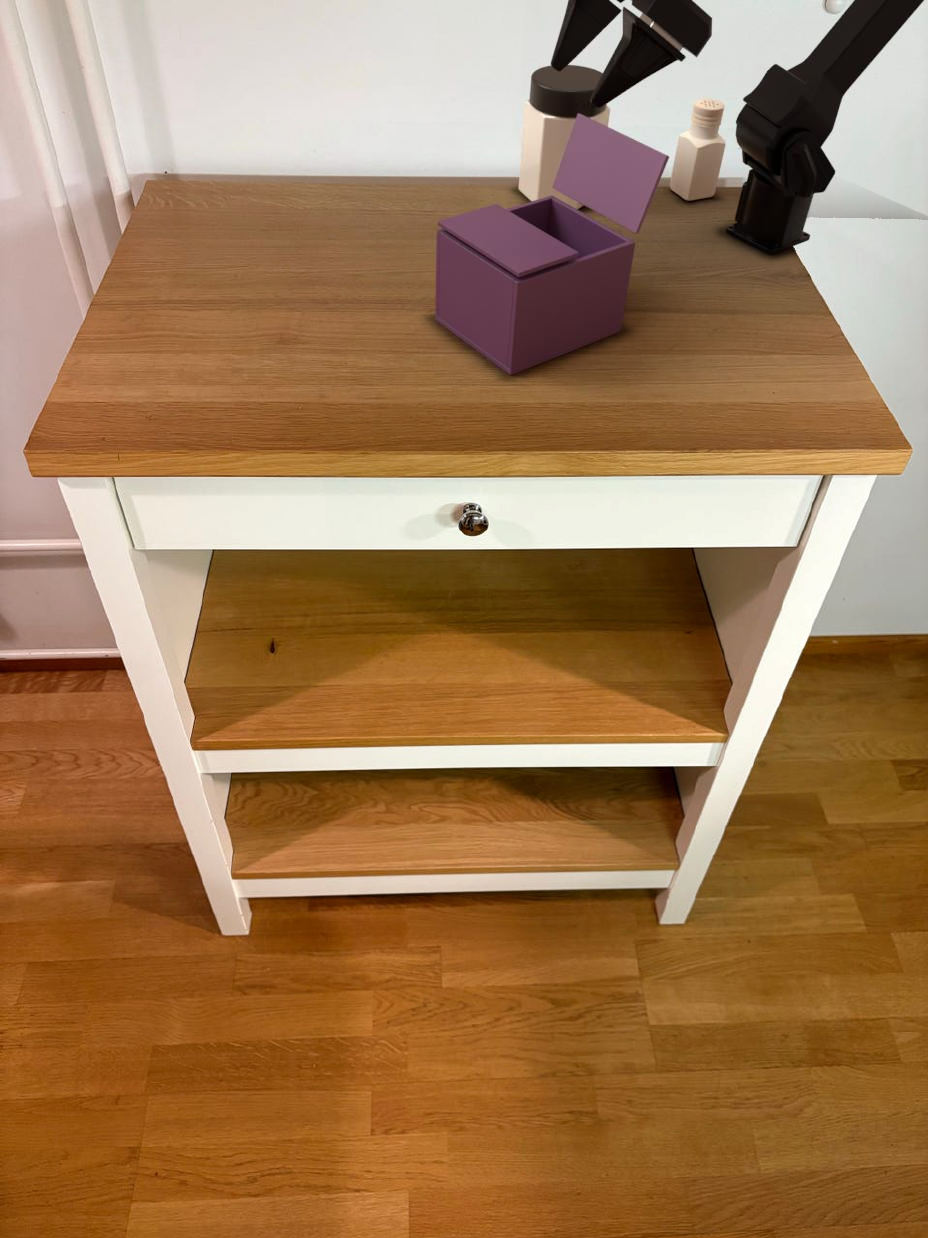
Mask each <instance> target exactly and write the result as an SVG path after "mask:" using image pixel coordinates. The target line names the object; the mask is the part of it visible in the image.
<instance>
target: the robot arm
mask: <svg viewBox="0 0 928 1238" xmlns="http://www.w3.org/2000/svg"><path fill="white" fill-rule="evenodd" d="M625 1H626V0H616V2H618V3H619V4H622V3H623V2H625ZM924 1H925V0H853V1H852V3H850V5H849V6H848V7H847V9H845V11H844V12H843V13H842V15H841V16H840V17H839V18H838V20H837V21H836V22H835V23H834V24H833V26H832V27H831V28H830V29H829V30H828V31H827V33H826V34H825V35H824V36H823V38H822V39H821V40H820V42H818V44H817V45H816V46H815V48H814V49H813V50H812V51H811V53H809V55H808V56H807V57H806V58H805V59H803V61H802V62H800V63H797V64H796V65H794V66H792V67H790V68H788V69H786V68H784V67H782V66H781V65H779V64H778V63H774V64H773V65H772V66H771V67H769V69H767V70H766V72H765V74H764V75H763V77H762V78H761V80H760V81H759V83H758V84H757V85H756V87H755V88H754V89H753V90H752V91H751V92H750V93H748V94H747V95H745V96H744V97H743V98H742V101H743V102H744V103H745V104H744V105H743V107H742V108H741V110H740V112H739V113H738V115H737V118H736V120H735V124H736V127H735V138H736V143H737V145H738V146H739V148H740V149H741V157H742V163H743V164H744V165H745V166H748V167H749V168H751V169H749V171H748V174H747V179H746V181H743V183H742V185H741V186H742V187H741V190H740V195H739V199H738V203H737V206H736V211H735V216H734V221H735V223H732V224H729V225H727V226H726V227H725V233H727V234H729V235H730V236H733V237H735V238H737V239H739V240H741V241H742V242H745V243H747V244H749V245H750V246H752V247H754V248H755V249H758V250H760V251H762V252H764V253H766V254H768V255H775V254H777V253H780V252H782V251H784V250H787V249H791V248H793V247H795V246H798V245H801V244H802V243H805V242H807V241H809V240H810V238H811V234H810V233H808V232H805V231H804V229H805V225H806V223H807V220H808V215H809V212H810V209H811V205H812V201H813V198H814V196H815V195H814V194H820V193H822V194H823V193H824V192H825V191H826V190H827V188H828V186H830V185H829V184H830V183H831V182H832V180H833V178H834V176H835V175H836V169H835V168H834V166H833V164H832V163H831V161H830V159H829V158H828V156H827V154H826V152H824V150H823V148H822V147H823V145H824V144H825V142H826V141H827V139H828V138H829V136H830V135H831V134H832V132H833V130H834V127H835V125H836V120H837V117H838V114H839V110H840V108H841V103H842V101H843V98H844V96H845V95H846V93H847V92H848V90H849V89H850V88H851V87H852V86H853V85H854V83H855V82H856V81H857V80H858V79H859V77H860V76H861V75H862V74H863V73H864V72H865V70H866V69H867V68H868V67H869V66H870V65H871V64H872V62H873V61H874V60H875V59H876V58H877V57H878V55H879V54H880V53H881V52H882V51H883V49H884V48H885V47H886V46H887V44H889V42H890V41H891V40H892V39H893V38H894V37H895V35H896V34H897V33H898V32H899V31H900V30H901V28H902V27H903V26H904V25H905V24H906V23H907V21H908V20H909V19H910V18H911V17H912V16H913V14H914V13H915V12H916V11H917V10H918V8H919V7H920V6H921V5H922V4H923V2H924ZM630 2H631V6H632V7H633V8H635V9H636V10H638V12H641V15H640V16H638V15H636V14H635V13H634V12H632V11H631V10H630V9H628V8H627V7H625V6H623V7H622V9H621V8H619V7H618V6H617V5H616V4H615V3H614V2H612V1H611V0H567V5H566V7H565V13H564V17H563V20H562V24H561V27H560V29H559V33H558V36H557V40H556V43H555V47H554V50H553V54H552V57H551V61H550V66H552V67H553V68H554V69H555V70H557V71H559V72H560V71H562V70H563V69H564V68H565V67H566V66H567V65H570V63H572V62H573V61H574V60H575V59H576V58H577V57H578V56H579V55H580V54H581V53H582V52H583V51H584V50H585V49H586V48H587V47H588V46H589V45H590V44H591V43H592V42H593V41H594V40H595V39H596V37H598V36H599V35H600V34H601V33H602V32H603V31H604V30H605V29H606V28H607V27H608V26H609V25H610V24H611V23H612V22H613V21H614V20H615V19H616V18H617V17H618V16H619V15H620V14H621V13H622V35H621V37H620V40H619V41H618V44H617V46H616V48H615V49H614V51H613V53H612V55H611V57H610V58H609V61H608V62H607V65H606V66H605V68H604V70H603V71H602V73H603V74H602V76H601V78H600V79H599V81H598V83H597V85H596V88H595V90H594V92H593V94H592V96H591V99H590V102H591V103H592V104H593V105H595V106H596V107H598V108H601V107H602V106H604V105H605V104H609V103H610V102H612V101H613V100H614V99H616V98H618V97H619V96H621V95H622V94H624V93H625V92H627V91H628V90H630V89H631V88H633V87H634V86H636V85H638V84H640V83H641V82H642V81H644V80H645V79H647V78H649V77H650V76H652V75H654V74H655V73H657V72H660V71H661V70H663V69H665V68H666V67H668V66H670V65H672V64H674V63H675V62H677V61H679V62H681V63H682V62H683V61H684V60H685V59H686V58H687V56H686V55H685V54H683V52H681V51H682V49H684V50H685V51H687V52H688V53H690V54H691V55H693V57H695V58H698V57H699V55H700V53H701V52H702V51H703V49H704V48H705V47H706V45H707V43H708V42H709V40H710V39H711V37H712V36H713V17H711V15H710V14H709V13H707V12H706V11H705V10H704V9H703V8H702V7H701V6H699V4H697V3H696V2H695V1H693V0H630Z"/></svg>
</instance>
